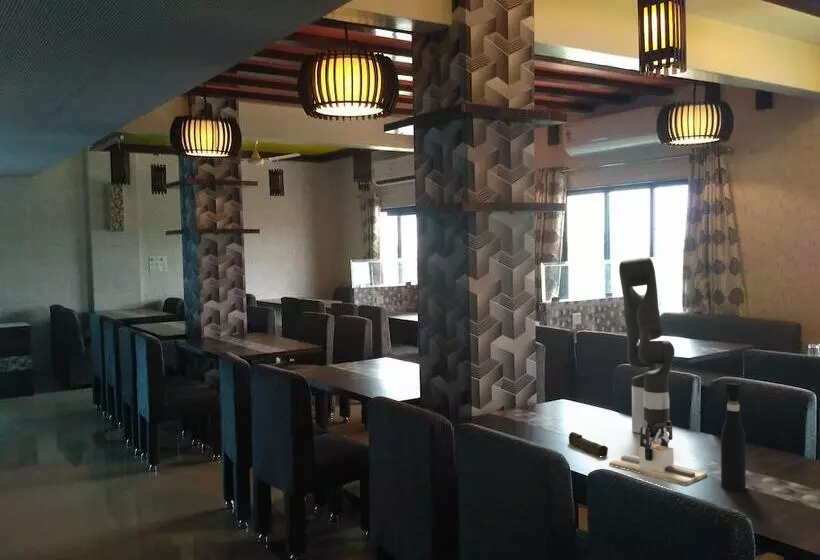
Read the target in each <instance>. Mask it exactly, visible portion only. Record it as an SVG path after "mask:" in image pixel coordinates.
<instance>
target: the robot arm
mask: <svg viewBox="0 0 820 560" xmlns="http://www.w3.org/2000/svg"><path fill="white" fill-rule="evenodd" d="M618 268H619V269H618V274H619V280H620V285H621V291H622V296H623V315H624V323H625V328H626V341H627V342H626V346H627V347H626V348H627V349H626V351H627V352H626V353H627V362H628V364H629V366H631V367H632V368H643V369H645V368H646V369H647V368H648V371H646V372H644V373H642V374H640V375H636V376H634V377H632V378H631V430H632V433H633V432H634V433H635V432H636V433H635V434H639V433H640V436H639V437H640V438H639V447H644V448H645V459H646V460H648V461H652V460H653V449H652V448H653V445H654V444H655V443H657V442H658V440H659V441H660V443H659V445H660V446H665V447H669V443H670V441H672V440H673V422H672V420H670V394H669V378H670V371H671V368H672V364H673V361H674V357H675V353H676V350H675V348H674V347H675V346H674V344H672V342H671V341H669V340H656V339H659V338H661V336H662V335H663V334H664V328H663V322H662V319H661V315H660V311H659V310H660V309H659V300H658V299H659V298H658V297H659V295H658V289H657V288H658V287H657V278H656V271H655V266H654V262H653V260H652V259H651V258H650V257H647V256H646V257H644V256H643V257H638V258H637V257H636V258H632V259H631V258H630V259H625V260H622V261H620V263H619V266H618ZM641 286H646V291H645V294H644V295H643V296H642V295H640V294H639V293H638V292H637V291H636V290H635V289H634V287H641ZM649 443H650V445H649Z"/></svg>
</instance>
